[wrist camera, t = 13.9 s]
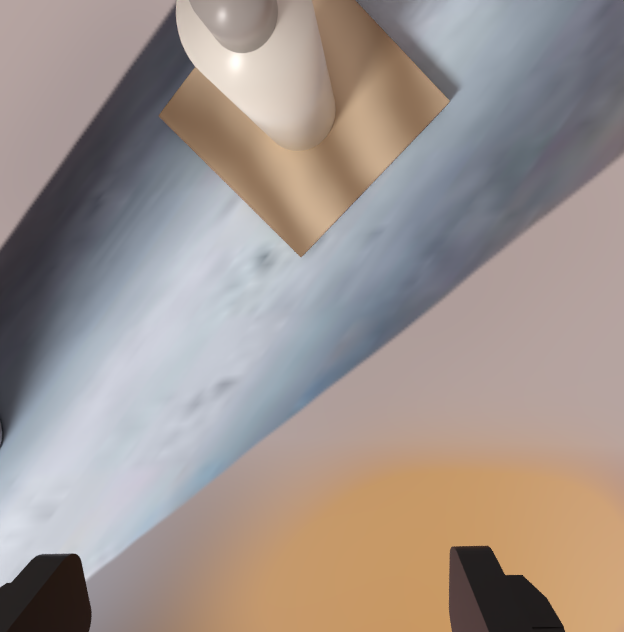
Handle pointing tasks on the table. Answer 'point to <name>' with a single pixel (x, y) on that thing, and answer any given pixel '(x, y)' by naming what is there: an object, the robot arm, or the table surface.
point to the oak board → (339, 145)
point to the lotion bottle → (264, 63)
